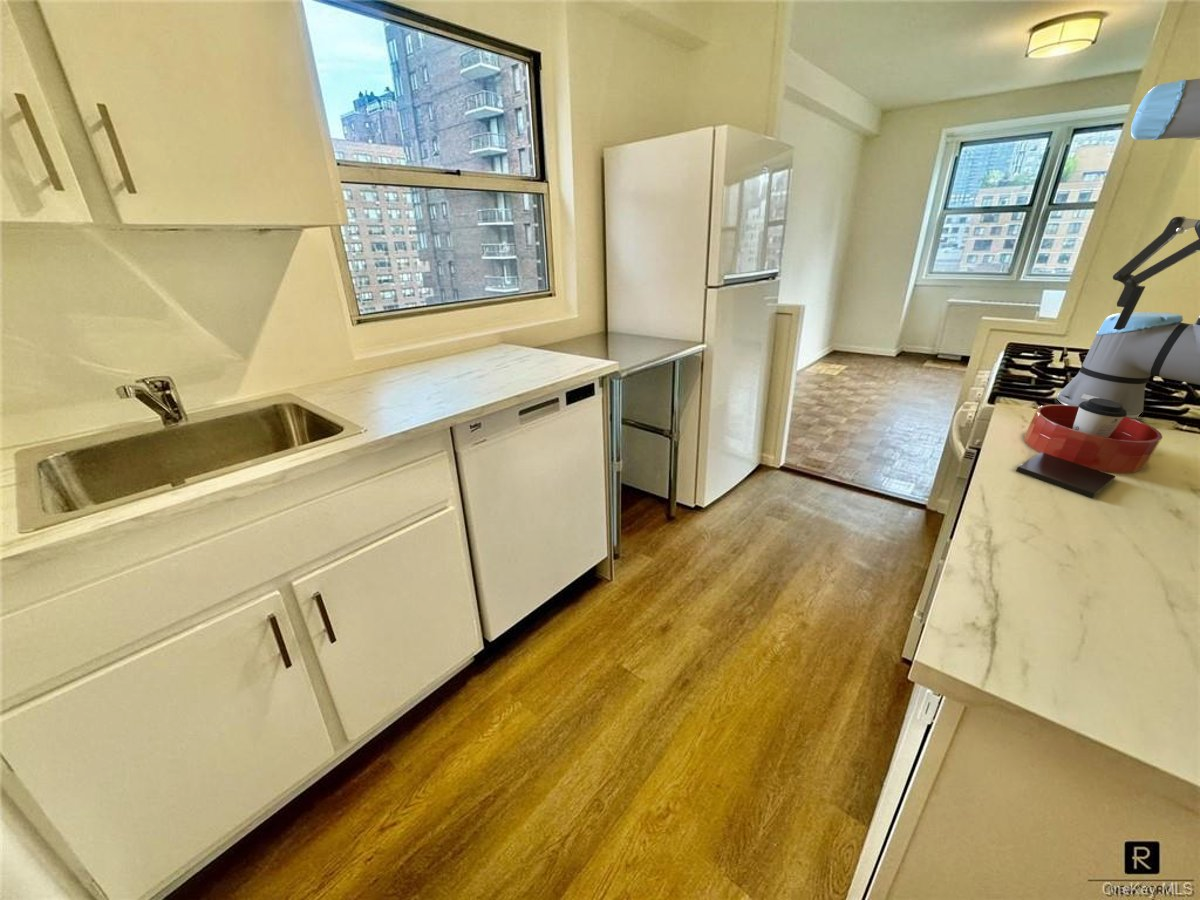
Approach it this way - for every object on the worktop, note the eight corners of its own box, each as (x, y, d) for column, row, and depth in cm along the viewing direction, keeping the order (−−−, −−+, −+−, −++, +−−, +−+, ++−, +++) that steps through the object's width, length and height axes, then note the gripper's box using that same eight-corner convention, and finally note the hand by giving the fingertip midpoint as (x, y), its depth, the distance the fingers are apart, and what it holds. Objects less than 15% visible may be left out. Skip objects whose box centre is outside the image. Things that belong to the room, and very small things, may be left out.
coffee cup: (1109, 460, 93) (1136, 412, 89) (1063, 451, 97) (1086, 404, 92) (1100, 446, 99) (1124, 400, 94) (1056, 438, 102) (1077, 394, 97)
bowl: (1043, 425, 109) (1056, 398, 106) (1156, 457, 96) (1174, 427, 93) (1009, 444, 100) (1021, 415, 97) (1127, 482, 87) (1146, 450, 84)
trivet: (1039, 456, 95) (1041, 452, 95) (1113, 480, 87) (1116, 475, 87) (1015, 471, 90) (1017, 466, 90) (1092, 498, 82) (1095, 493, 81)
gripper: (1130, 179, 71) (1066, 324, 81) (1444, 172, 52) (1311, 361, 62) (1145, 180, 74) (1082, 319, 84) (1443, 174, 56) (1317, 352, 66)
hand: (1179, 337), depth 73 cm, fingers open, 13 cm apart
